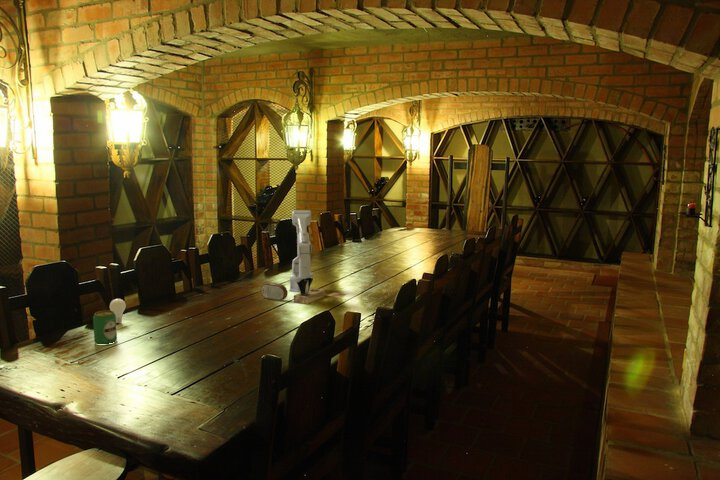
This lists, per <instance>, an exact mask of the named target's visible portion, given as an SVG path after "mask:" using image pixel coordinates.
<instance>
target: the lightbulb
mask: <svg viewBox="0 0 720 480" xmlns="http://www.w3.org/2000/svg"><path fill="white" fill-rule="evenodd" d="M126 306H127V305H126V302H125V300H123V299H121V298H115V299H112V300H111V301H110V303H109V311H113V312H114V314H115V315H116V324H117V323H120V324H121V323H122V322H123V319H122V317H123V313H124V312H125V310H126V308H127V307H126Z"/></svg>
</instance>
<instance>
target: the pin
mask: <svg viewBox="0 0 720 480" xmlns="http://www.w3.org/2000/svg"><path fill="white" fill-rule="evenodd" d="M305 281H308V280H305ZM302 296H308V282H307V284H306V290H305V294H302Z"/></svg>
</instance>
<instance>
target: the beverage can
mask: <svg viewBox="0 0 720 480" xmlns="http://www.w3.org/2000/svg"><path fill="white" fill-rule="evenodd" d="M92 321H93V322H92V323H93V340H94V343H95V344H96V343H97V344H109V343H113V342H115V341H116V342H117V340H118V334H117V333H118V331H117V323H116V315H115V314H114V312H113V311H111V310H109V309H108V310H107V309H106V310H99V311H96V312H95V313H94V315H93V317H92ZM116 342H115V343H116Z"/></svg>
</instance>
